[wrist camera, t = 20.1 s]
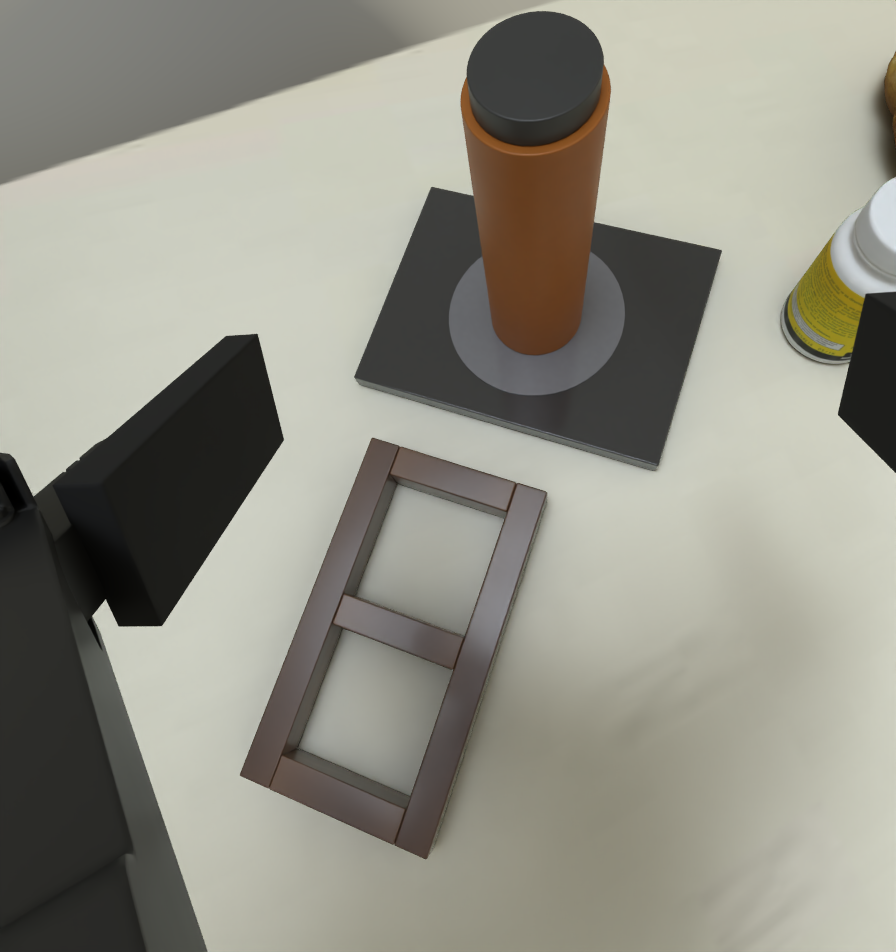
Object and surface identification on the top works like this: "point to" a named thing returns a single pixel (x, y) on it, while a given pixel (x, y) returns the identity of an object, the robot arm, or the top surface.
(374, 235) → the top surface
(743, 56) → the top surface
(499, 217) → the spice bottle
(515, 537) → the frame
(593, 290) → the hob plate
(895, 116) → the bread roll
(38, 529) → the robot arm
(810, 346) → the supplement bottle
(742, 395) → the top surface
